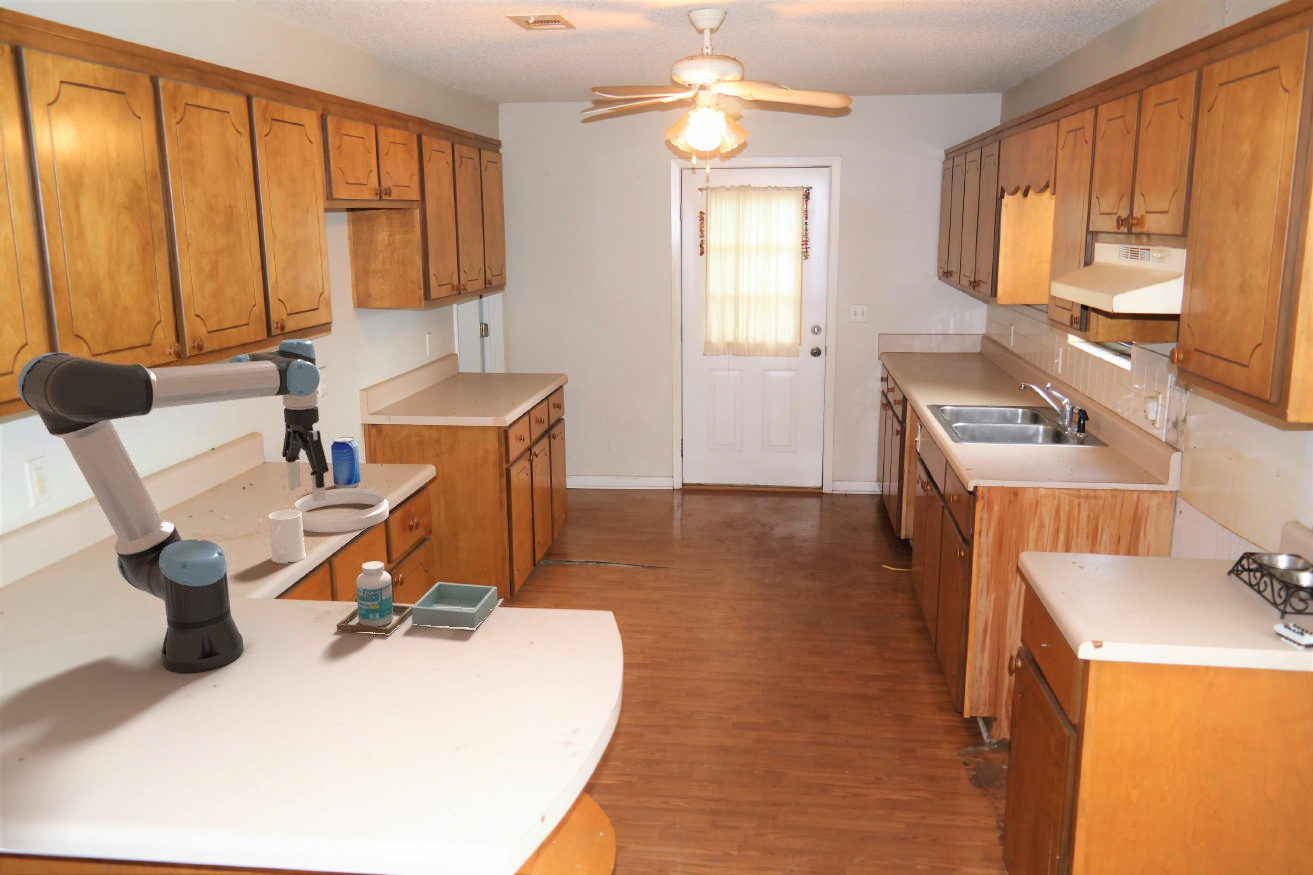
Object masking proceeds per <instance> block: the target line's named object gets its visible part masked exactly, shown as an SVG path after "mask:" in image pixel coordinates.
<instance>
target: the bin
mask: <svg viewBox="0 0 1313 875" xmlns="http://www.w3.org/2000/svg"><path fill="white" fill-rule="evenodd" d="M411 606H412V607H411V609H412V614H411V625H412V624H417V625H431V626H449V627H469V628H475V627H476V626H477V625H478V624H479V623H480V622H481V621H482V620H483V619H484V618H485V617H486V618H488V616H489V615H490V614H491V613H492V611H493V610H494V609H495V608H496V606H498V587H497V586H491V585H490V586H489V585H478V584H466V583H454V582H453V583H452V582H443V581H442V582H441V581H437V582H436V583H435V584H434V585H433V586H432V587H431V588H430V589H429V590H427V592H426V593H425V594H424V595H423V596H421V597H420V599H418V601H416V602H415V603H414V604H413V605H411ZM435 607H461V608H435ZM462 608H475V609H462ZM490 609H493V610H490Z"/></svg>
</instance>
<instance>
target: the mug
mask: <svg viewBox="0 0 1313 875" xmlns="http://www.w3.org/2000/svg"><path fill="white" fill-rule="evenodd" d="M268 525H269V538H270V546H271V562H273V563H275V562H276V564H289V563H288V562H293V563H296V562H300V561H301V560H304V559H305V558H306V557H307V554H306V550H305V549H306V548H305V540H304V536H305V535H304V530H303V524H302V513H301V512H300V511H298V510H293V509H283V510H277V511H273V512H271V513H269V514H268Z"/></svg>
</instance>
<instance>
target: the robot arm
mask: <svg viewBox="0 0 1313 875" xmlns="http://www.w3.org/2000/svg"><path fill="white" fill-rule="evenodd" d="M315 351H316V350H315V345H314V343H313V341H312V340H310V339H306V338H305V339H303V338H294V339H284V340H280V342H279V344H278V350H275V351H266V352H264V351H263V352H254V353H244V354H239V355H238V354H237V355H233V356H232V357H231V358H230V359H229V361H228V362H227V363H213V364H212V363H210V364H198V365H184V366H183V365H181V366H169V367H167V366H166V367H155V368H147V367H146V366H145V365H144V364H141V363H134V364H133V363H131V364H121V363H110V362H106V361H100V360H95V359H90V358H85V357H80V356H75V355H73V354H70V353H67V352H47V353H42V354H40V355H37V356H35V357H32V359H30V360H29V361H28V362H26V364H24V366H23V367H22V369H21V370H20V372H19V375H18V376H17V382H16V383H17V387H16V388H17V393H18V396H20V399H21V400H22V401H23V402H24V403H25V405H26V406H27V407H29V408H30V409H32V410H33V411H36V412H37V414H38V415H39V417H40V419H41V422H42V423H43V424H44V426H45V427H46V429H47V431H48V433H49V434H50V435H51V436H54V437H57V438H61V439H63V441H64V443H65V444H66V445H65V446H67V449H68V450H69V452H70V454H71V456H72V458H73V460H74V461H75V463H76V465H77V467H78V468H79V470H80V472H81V474H82V475H83V477H84V479H85V481H86V483H87V485H88V486H89V488H90V490H91V492H92V493H93V496H94V498H96V501H97V502H98V504H99V506H100V508H101V510H102V512H103V513H104V515H105V517H106V518H107V521H108V522H109V525H110V526H111V528H112V530H113V531H114V533H115V535H116V537H117V540H116V542H115V543H114V547H113V548H114V550H115V552H116V554H117V560H116V563H117V568H118V572H119V574H120V575H121V577H122V578H123V579H124V580H125V581H126V582H127V583H128V584H129V585H130V586H131V587H134V588H135V589H136V590H137V589H138V590H139V591H143V592H146V593H147V594H150V595H152V596H154V597H155V598H158V599H160V600H163V601H164V607H165V615H166V622H167V623H166V624H167V628H166V632H165V636H164V639H163V643H162V644H163V645H162V649H161V653H160V655H161V656H160V657H161V663H162V664H161V665H162V666H163V667H164V668H165V669H167V670H168V671H171V672H174V673H182V674H184V673H186V674H187V673H188V674H189V673H190V674H191V673H201V672H207V671H211V670H215V669H217V668H220V667H221V668H222V667H224V666H225V665H228V664H230V663H232V662H234V661H235V660H236V659H238V658H239V657H241V655H242V654H243V653H244V651H245V647H244V646H245V644H244V638H243V636H242V634H241V633H240V631H239V629H238V627H237V624H236V623H235V620H234V618H233V617H232V613H231V612H232V611H231V602H230V600H231V599H230V594H229V593H230V592H229V583H228V581H229V580H228V573H227V570H228V569H227V568H228V565H227V564H228V563H227V560H226V558H225V552H224V551H223V549H222V547H221V546H220V545H219V544H217V543H215V542H213V541H210V540H206V539H201V540H199V539H197V538H196V539H194V538H193V539H184V540H183V539H182V538H181V535H180V534H179V532H178V530H177V528H176V526H175V523H174V522H173V521H171V520H169V519H165V518H162V517H161V514H160V513H159V510H158V509H157V507H156V505H155V503H154V501H153V499H152V497H151V495H150V494H149V491H148V490H147V488H146V486H145V484H144V482H143V481H142V478H141V476H140V475H139V474H140V473H139V472H138V471H137V468H136V466H135V464H134V462H133V461H132V459H131V457H130V455H129V454H128V451H127V450H126V448H125V446H124V443H123V442H122V440H121V438H120V436H119V434H118V432H117V431H116V428H115V426H114V424H113V422H112V421H113V420H118V419H125V418H132V417H139V416H147V415H149V414H151V412H152V411H153V409H162V408H173V407H180V406H182V407H183V406H191V405H199V404H207V403H208V404H211V403H220V402H226V401H228V402H229V401H237V400H245V399H246V400H247V399H255V398H264V397H274V396H275V397H278V396H282V405H283V406H284V407H285V408H284V409H283V418H284V423H285V433H284V440H283V447H282V453H281V454H282V458H285V462H287V463H286V465H287V467H286V468H287V477H288V479H287V480H288V489H289V490H292V489H297V488H302V479H301V465H300V462H301V461H299V460H301V457H300V453H301V450H303V451H304V452H305V455H306V458H307V461H308V464H309V466H310V468H311V472H310V473H309V474H310V476H311V477H310V478H311V492H312V493H311V494H313V501H314V502H316V501H322V500H326V498H325V490H326V486H325V485H326V484H325V474H326V473H329V470H330V469H329V465H328V462H327V458H326V455H325V451H324V446H323V443H322V437H321V431H320V430H319V429H318V430H314V427H313V425H314V424H317V423H319V421H320V415H319V414H320V413H319V407H318V406H317V405H318V402H319V401H318V395H319V390H318V387H319V385H320V380H321V377H320V376H321V375H320V372H319V369H318V367H317V366H316V360H317V358H316V353H315Z"/></svg>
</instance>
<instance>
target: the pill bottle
mask: <svg viewBox="0 0 1313 875" xmlns="http://www.w3.org/2000/svg"><path fill="white" fill-rule="evenodd" d="M361 571H362V573H360V574H359V575H358V576H357V578H356V581H355V582H356V602H357V607H358V616H357V618H358V623H359V624H360V625H361V626H372V627H378V626H380V627H383V626H382V625H384V626H386V625H388V624H390V623H391V622H392V621H393V618H394V612H393V605H394V604H393V591H392V590H393V589H392V587H393V586H392V576H391V574H389V573H388V572H387V571H385V564H384V562H383V561H379V560H376V561H375V560H374V561H367V562H365V563H363V564H362V565H361ZM389 622H390V623H389Z"/></svg>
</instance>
